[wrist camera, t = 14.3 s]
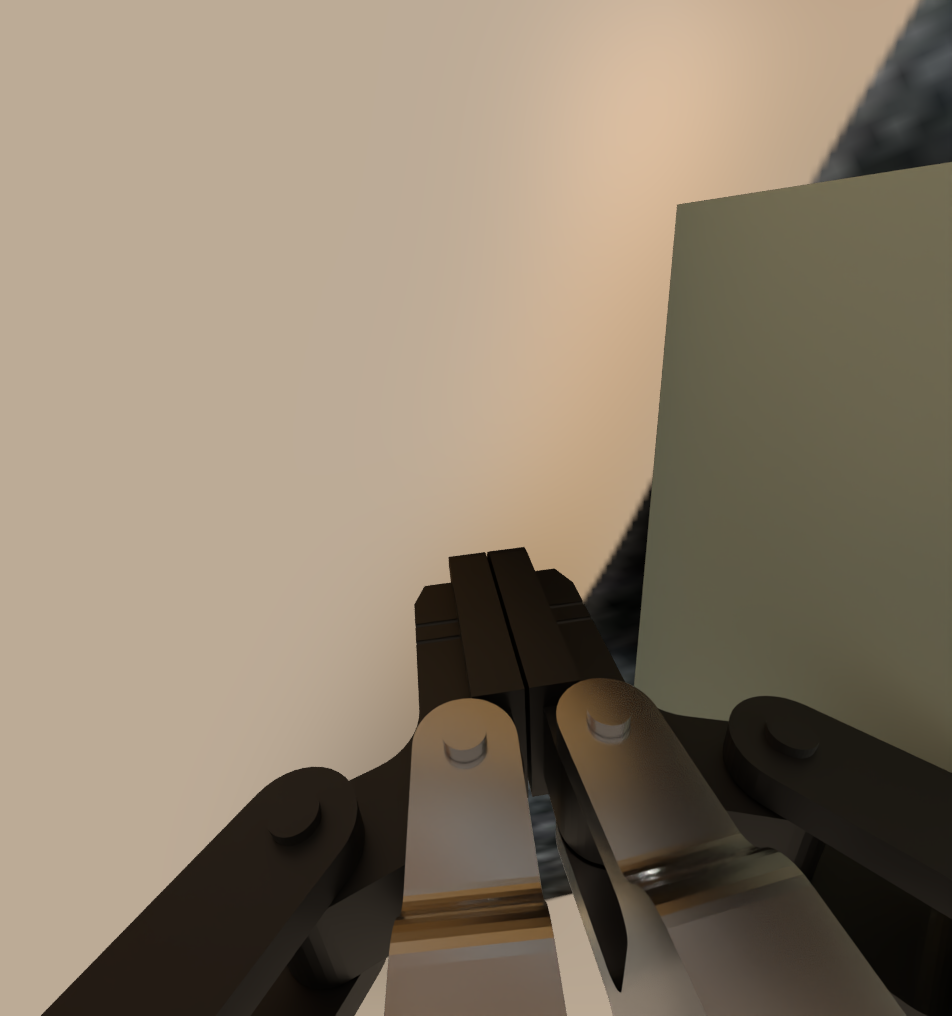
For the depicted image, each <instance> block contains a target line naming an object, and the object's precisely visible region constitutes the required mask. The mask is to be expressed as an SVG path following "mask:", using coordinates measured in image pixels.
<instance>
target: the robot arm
mask: <svg viewBox="0 0 952 1016" xmlns="http://www.w3.org/2000/svg"><path fill="white" fill-rule="evenodd" d="M449 568H450V577H451V583H446V584H437V585H430V586H425V587H424V588H423V590H422V592H421V594H420V596H419V597H418V599H417V601H416V603H415V624H416V643H417V645H416V647H417V668H418V688H419V710H420V712H419V721H418V725H417V728H416V730H415V732H414V734H413V736H412V738H411V739H410V741H409V742H408V743H407V745H406V746H405V747H404V748H403V749H402V750H401V751H400V752H399V753H398V754H397V755H396V756H395V757H393V758H392V759H391V760H389V761H388V762H386V763H384V764H382V765H381V766H379V767H377V768H375V769H373V770H371V771H369V772H366V773H364V774H362V775H360V776H358V777H356V778H354V779H352V780H350V781H348V780H347V778H346V777H344V776H343V775H342V774H340V773H339V772H337V771H334V770H332V769H329V768H324V767H308V768H302V769H299V770H294V771H292V772H290V773H287V774H285V775H283V776H281V777H279V778H278V779H276V780H274V781H273V782H271V783H270V784H269V785H267V786H266V787H265V788H264V789H262V790H261V791H260V792H259V793H258V794H257V795H256V796H255V797H254V798H253V799H252V800H251V801H250V802H249V803H248V804H247V805H246V806H245V807H244V808H243V809H242V810H241V811H240V812H239V813H238V814H237V815H236V816H235V817H234V818H233V820H231V822H230V823H229V824H228V825H227V826H226V827H225V828H224V829H223V830H222V831H221V832H220V833H219V834H218V835H217V836H216V837H215V838H214V839H213V840H212V841H211V842H210V843H209V844H208V845H207V846H206V847H205V848H204V849H203V850H202V851H201V852H200V853H199V854H198V855H197V856H196V857H195V858H194V859H193V860H192V861H191V863H190V864H188V865H187V867H186V868H185V869H184V870H183V871H182V872H181V873H180V874H179V875H178V876H177V877H176V878H175V879H174V880H173V881H172V882H171V883H170V884H169V885H168V886H167V887H166V888H165V889H164V890H163V891H162V892H161V893H160V894H159V895H158V896H157V897H156V898H155V899H154V900H153V901H152V902H151V903H150V904H149V905H148V906H147V907H146V909H144V911H143V912H142V913H141V914H140V915H139V916H138V917H137V918H136V919H135V920H134V921H133V922H132V923H131V924H130V925H129V926H128V927H127V928H126V929H125V930H124V931H123V932H122V933H121V934H120V935H119V936H118V937H117V938H116V939H115V940H114V941H113V942H112V943H111V944H110V945H109V947H107V948H106V950H105V951H103V952H102V954H101V955H100V956H99V957H98V958H97V959H96V960H95V961H94V962H93V963H92V964H91V965H90V966H89V967H88V968H87V969H86V970H85V971H84V972H83V973H82V974H81V975H80V976H79V977H78V978H77V979H76V980H75V981H74V982H73V983H72V984H71V985H70V986H69V987H68V988H67V989H66V990H65V991H64V992H63V993H62V994H61V996H59V998H58V999H57V1000H56V1001H55V1002H54V1003H53V1004H52V1005H51V1006H50V1007H49V1008H48V1009H47V1010H46V1011H45V1012H44V1013H43V1014H42V1015H41V1016H354V1015H355V1014H356V1012H357V1010H358V1009H359V1007H360V1005H361V1003H362V1002H363V1000H364V998H365V997H366V995H367V993H368V992H369V990H370V988H371V986H372V984H373V983H374V981H375V980H376V978H377V976H378V974H379V972H380V971H381V969H382V967H383V965H384V963H385V960H386V958H387V957H388V956H389V959H388V970H387V985H386V998H385V1012H384V1016H567V1014H566V1008H565V1001H564V995H563V990H562V983H561V977H560V971H559V965H558V958H557V952H556V946H555V940H554V934H553V929H552V924H551V919H550V914H549V910H548V906H547V903H546V902H545V901H544V898H543V893H542V888H541V883H540V876H539V870H538V863H537V857H536V851H535V844H534V838H533V831H532V825H531V818H530V812H529V805H528V799H527V798H528V781H529V785H530V789H531V793H532V797H534V796H539V795H545V794H549V796H550V800H551V803H552V807H553V811H554V814H555V818H556V843H557V847H558V851H559V854H560V857H561V860H562V863H563V866H564V869H565V872H566V875H567V877H568V880H569V883H570V886H571V889H572V892H573V895H574V898H575V901H576V904H577V907H578V910H579V913H580V915H581V918H582V921H583V924H584V927H585V930H586V933H587V936H588V939H589V942H590V945H591V948H592V950H593V954H594V956H595V959H596V962H597V965H598V968H599V971H600V974H601V977H602V980H603V983H604V986H605V989H606V992H607V995H608V998H609V1002H610V1006H611V1009H612V1013H613V1016H952V773H951V772H949V771H947V770H944V769H942V768H940V767H938V766H936V765H934V764H932V763H929V762H927V761H925V760H923V759H921V758H919V757H916V756H914V755H912V754H910V753H908V752H906V751H904V750H901V749H899V748H897V747H895V746H893V745H891V744H888V743H886V742H884V741H882V740H880V739H878V738H875V737H873V736H871V735H869V734H867V733H865V732H863V731H860V730H858V729H856V728H854V727H852V726H850V725H847V724H845V723H843V722H841V721H839V720H837V719H835V718H832V717H830V716H828V715H826V714H824V713H822V712H819V711H817V710H815V709H813V708H811V707H809V706H806V705H804V704H802V703H799V702H797V701H793V700H790V699H787V698H782V697H776V696H756V697H752V698H748V699H746V700H743V701H742V702H740V703H739V704H737V705H736V706H735V708H734V709H733V710H732V712H731V714H730V717H729V721H723V720H715V719H707V718H698V717H690V716H683V715H677V714H673V713H670V712H666V711H664V710H661V709H659V708H657V707H656V705H655V704H654V703H653V701H652V700H651V699H650V698H649V697H648V696H647V695H646V694H645V693H643V692H642V691H641V690H639V689H638V688H636V687H634V686H632V685H630V684H628V683H626V682H625V681H624V679H623V677H622V676H621V674H620V672H619V670H618V668H617V666H616V664H615V662H614V660H613V658H612V656H611V654H610V653H609V651H608V649H607V647H606V645H605V643H604V641H603V639H602V637H601V635H600V633H599V631H598V630H597V628H596V626H595V624H594V622H593V620H591V618H590V614H589V612H588V610H587V608H586V607H585V605H584V604H583V602H582V599H581V597H580V595H579V593H578V591H577V589H576V587H575V585H574V584H573V582H572V581H570V580H569V579H568V578H566V577H565V576H564V575H562V574H561V573H559V572H558V571H557V570H556V569H548V570H540V571H535V570H534V568H533V565H532V563H531V560H530V558H529V556H528V553H527V551H526V549H525V548H524V547H521V548H513V549H505V550H498V551H490V552H487V556H486V553H485V552H483V553H476V554H468V555H460V556H453V557H449Z"/></svg>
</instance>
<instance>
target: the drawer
mask: <svg viewBox="0 0 952 1016" xmlns="http://www.w3.org/2000/svg"><path fill="white" fill-rule="evenodd" d="M674 236H675V237H674V246H673V257H672V269H671V280H670V291H669V302H668V314H667V325H666V336H665V347H664V359H663V369H662V381H661V392H660V403H659V415H658V425H657V436H656V448H655V458H654V470H653V481H652V492H651V503H650V514H649V525H648V537H647V548H646V559H645V570H644V581H643V592H642V604H641V615H640V626H639V637H638V648H637V659H636V671H635V682H634V687H636V688H638V689H639V690H641V691H642V692H643V693H645V694H646V695H647V696H648V697H649V698H650V699H651V700H652V701H653V703H654V704H655V705H656V707H657V708H659V709H661V710H664V711H666V712H670V713H673V714H677V715H683V716H690V717H698V718H707V719H715V720H723V721H729V717H730V714H731V712H732V710H733V709H734V708H735V706H736V705H737V704H739V703H740V702H742V701H743V700H746V699H748V698H752V697H756V696H776V697H782V698H787V699H790V700H793V701H797V702H799V703H802V704H804V705H806V706H809V707H811V708H813V709H815V710H817V711H819V712H822V713H824V714H826V715H828V716H830V717H832V718H835V719H837V720H839V721H841V722H843V723H845V724H847V725H850V726H852V727H854V728H856V729H858V730H860V731H863V732H865V733H867V734H869V735H871V736H873V737H875V738H878V739H880V740H882V741H884V742H886V743H888V744H891V745H893V746H895V747H897V748H899V749H901V750H904V751H906V752H908V753H910V754H912V755H914V756H916V757H919V758H921V759H923V760H925V761H927V762H929V763H932V764H934V765H936V766H938V767H940V768H942V769H944V770H947V771H949V772H951V773H952V162H949V163H942V164H936V165H929V166H923V167H916V168H910V169H904V170H897V171H891V172H884V173H878V174H871V175H865V176H859V177H852V178H846V179H839V180H833V181H826V182H820V183H814V184H807V185H801V186H794V187H788V188H781V189H775V190H768V191H762V192H756V193H749V194H743V195H736V196H730V197H724V198H717V199H711V200H704V201H698V202H691V203H685V204H679V205H677V213H676V224H675V235H674Z"/></svg>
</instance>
